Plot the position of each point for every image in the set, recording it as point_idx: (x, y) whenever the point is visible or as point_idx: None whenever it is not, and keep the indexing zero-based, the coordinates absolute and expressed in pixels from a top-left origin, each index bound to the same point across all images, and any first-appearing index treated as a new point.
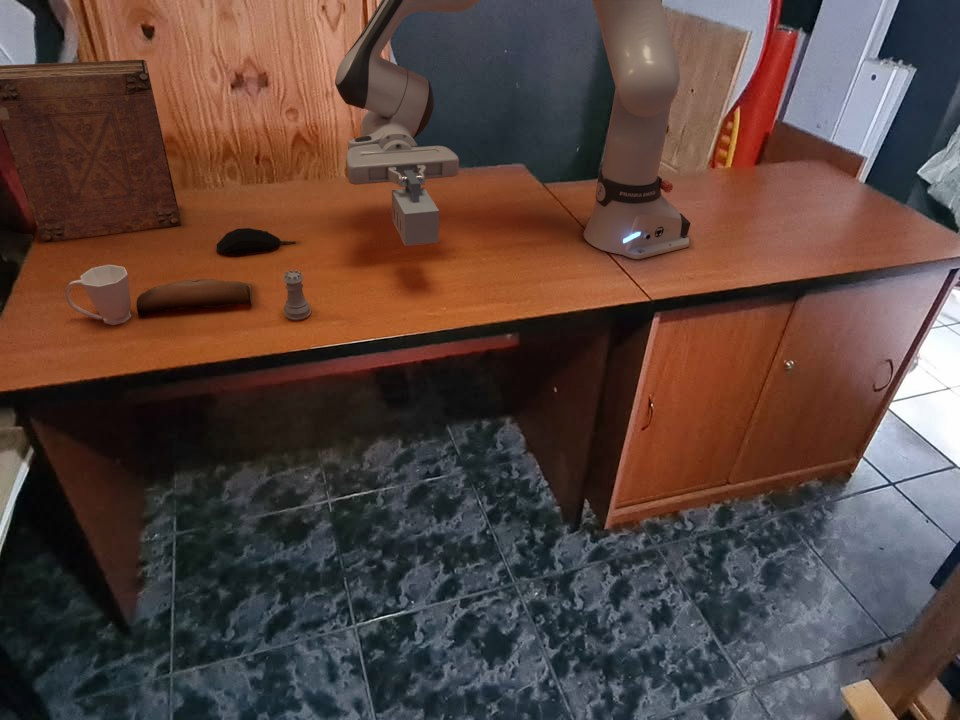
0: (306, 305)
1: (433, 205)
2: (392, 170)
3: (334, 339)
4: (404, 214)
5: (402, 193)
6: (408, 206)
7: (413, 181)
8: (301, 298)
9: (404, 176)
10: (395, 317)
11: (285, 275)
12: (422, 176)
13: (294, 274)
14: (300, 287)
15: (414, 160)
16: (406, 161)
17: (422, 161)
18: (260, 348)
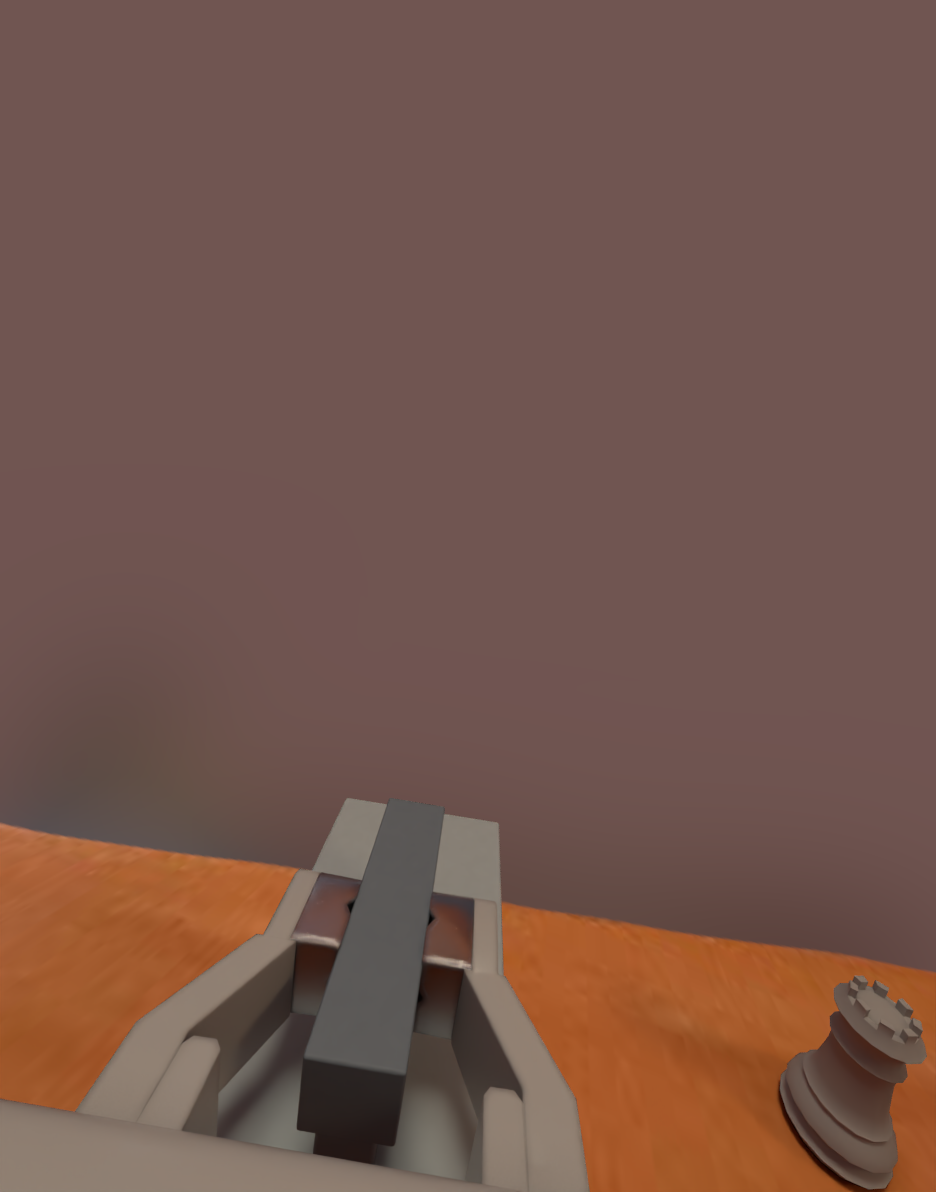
0: (799, 1070)
1: (337, 840)
2: (537, 1072)
3: (664, 942)
4: (498, 825)
5: (433, 1090)
6: (460, 873)
7: (418, 828)
8: (821, 1047)
9: (452, 907)
10: (509, 978)
11: (903, 1000)
12: (315, 871)
13: (878, 1010)
14: (834, 1016)
15: (163, 1175)
16: (304, 1181)
17: (69, 1118)
18: (835, 974)
